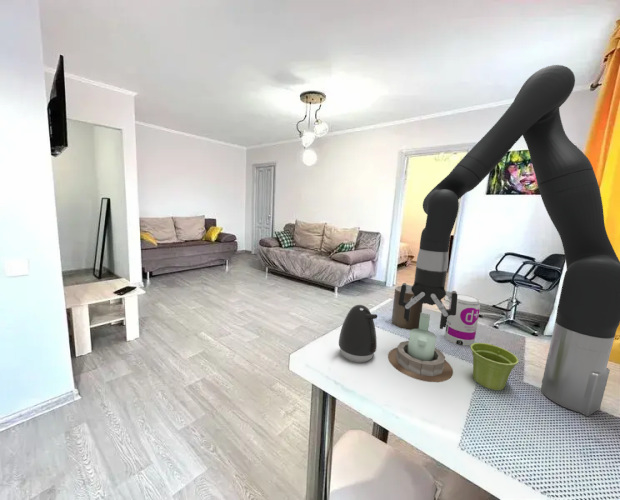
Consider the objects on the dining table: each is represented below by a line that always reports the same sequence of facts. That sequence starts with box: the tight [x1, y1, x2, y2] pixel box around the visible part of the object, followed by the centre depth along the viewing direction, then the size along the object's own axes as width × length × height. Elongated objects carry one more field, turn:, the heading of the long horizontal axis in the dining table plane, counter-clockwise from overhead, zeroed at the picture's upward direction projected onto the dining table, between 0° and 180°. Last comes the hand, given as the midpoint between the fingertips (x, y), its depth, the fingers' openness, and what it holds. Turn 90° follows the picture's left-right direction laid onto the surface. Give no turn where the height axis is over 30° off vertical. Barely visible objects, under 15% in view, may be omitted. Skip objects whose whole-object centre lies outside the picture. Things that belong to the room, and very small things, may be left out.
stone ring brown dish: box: [387, 340, 454, 383], centre depth 71 cm, size 16×16×4 cm
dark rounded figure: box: [338, 304, 378, 363], centre depth 72 cm, size 10×10×15 cm
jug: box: [407, 312, 437, 361], centre depth 71 cm, size 11×6×12 cm, turn 155°
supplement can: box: [444, 293, 481, 347], centre depth 84 cm, size 8×8×15 cm
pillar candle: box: [391, 285, 424, 331], centre depth 94 cm, size 10×10×15 cm
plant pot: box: [470, 342, 519, 391], centre depth 64 cm, size 9×9×9 cm
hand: (423, 324), depth 74 cm, fingers open, 8 cm apart
